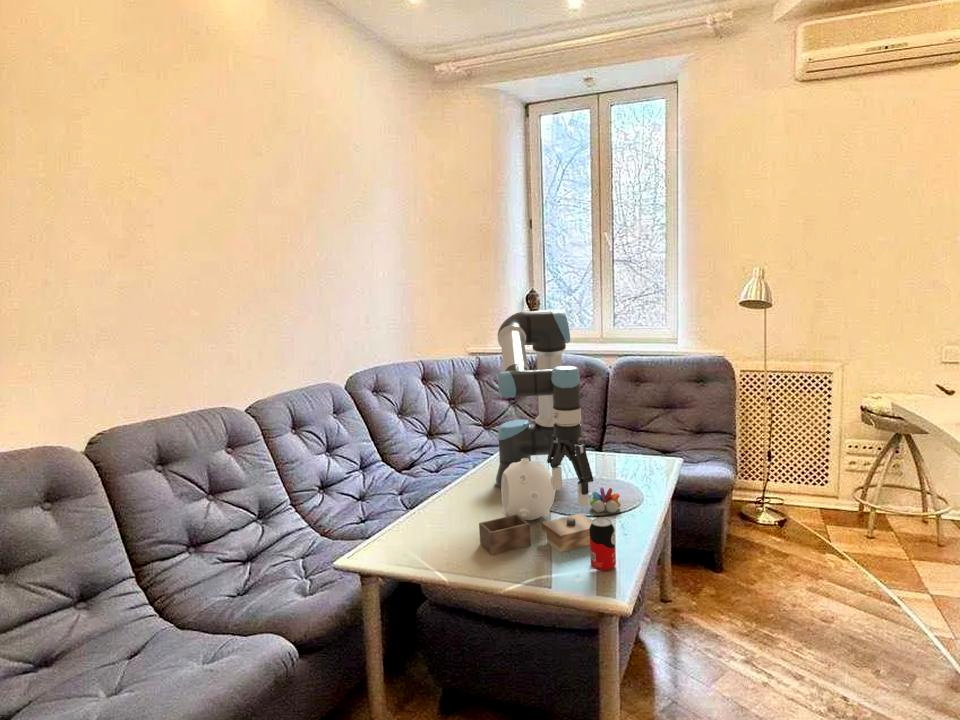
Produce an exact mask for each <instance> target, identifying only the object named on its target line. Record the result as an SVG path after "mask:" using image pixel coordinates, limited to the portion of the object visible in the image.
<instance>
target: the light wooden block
mask: <svg viewBox="0 0 960 720" xmlns="http://www.w3.org/2000/svg"><path fill="white" fill-rule="evenodd" d="M546 540H547V541H546V542H547V544H548V545H549V546H551V547H552V548H553V549H555V550H556V551H558V552H559V553H562V552H566V551H570V550H574V549H577V548H581V547H585V546H589V547H590V536H587V537H583V538H579V539H575V540H571V541H567V542H563V543H561V542H559V541H558V540H556V539H555V538H554V537H552V536H551V535H549V534H548V533H547V532H546Z"/></svg>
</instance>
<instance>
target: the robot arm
mask: <svg viewBox="0 0 960 720" xmlns="http://www.w3.org/2000/svg"><path fill="white" fill-rule="evenodd" d="M497 342H498V345H499V346H500V347H501V355H502V356H501V357H502V368H503V369H502V370H503V371H500V372H498V374H497V384H498V385H497V387H498V395H499V396H500V398H512V399H513V398H519V397H520V398H522V397H538V415H537V416H536V417H535V419H534V423H530V421H529V420H528V419H515V420H510V421H507V422H504V423H501V425H500V426H498V430H497V433H498V434H497V435H498V436H497V440H498V457H499V465H498V469H497V472H496V477H495V486H496V487H497V488H500V489H501V481H502V474H503V472H504V471H505V470H506V469H507V468H508V467H509V465H510V464H511V463H514V462H515V463H517V462H520V461H521V459H523V458H528V459H529V461H532V460H531V459H532V458H531V457H532V456H533V457H534V456H547V459H546V462H547V464H549V465H550V467H551V476H552V482H553V490H556V491H557V490H561V489H563V476H562V470H563V469H562V466H561V465H562V461H563V460H564V457H567V458H568V461H570V462H571V464H572V466H573V468H574V469H573V470H574V472H575V474H576V477H577V479H578V481H577V498H578V499H577V500H578V501H577V502H578V506H579V507H583V506H587V505H589V504H590V502H589V492H590V491H589V483H592V482H594V477H593V474H592V473H593V472H592V469H591V466H590V462H589V458H588V456H587V455H588V454H587V450H586V445H585V444H580V445H579V442H578V441H579V439H580V438H581V437H582V424H581V422H582V409H581V377H580V376H581V375H580V370H579V368H578V367H577V366H573V365H562V364H563V363H562V362H563V359H562V355H563V354H562V353H563V352H565V350H566V348H567V347H566V346H567V345H566V344H570V342H571V334H570V326H569V322H568V317H567V314H566V313H565V312H564V310H561V309H544V310H530V311H519V312H516V313H514V314H511V315H510V316H508V317H507V318H506V319H505V320H504V321H503V322H502V324H501V325H500V326H499V329H498V331H497ZM531 345H532V351H533V352H535V353H536V355H537V356H536V362H537V365H536V366H537V369H529V366H528V359H527V352H526V347H525V346H531ZM520 479H521V478H520Z"/></svg>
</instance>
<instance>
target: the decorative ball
mask: <svg viewBox="0 0 960 720" xmlns="http://www.w3.org/2000/svg"><path fill="white" fill-rule="evenodd" d="M520 478H521V479H520ZM556 491H557V490H553V482H552V473H551V472H550V471H549V470H548V469H547V468H546V467H545V466H543V465H542V464H540V463H537V462H535V461H532V460H531V461H529V459H528V458H523V459H521V461H520V462H517V463H515V462H514V463H511V464H510V465H509V467H508V468H507V469H506V470H505V471H504V472H503V474H502V481H501V488H500V494H501V495H500V496H501V505H502V510H501V513H503V514H504V515H505V517H508V516H512V515H518V516H520V517H521V518H522V519H524V520H525V521H533V520H536V519H539V518H541V517H543V518H544V519H545V518H547V517H548V516H549V515H550V514H551V511H550V510H551V508H552V506H553V504H554V501H555V495H556Z"/></svg>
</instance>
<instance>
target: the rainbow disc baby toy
mask: <svg viewBox="0 0 960 720" xmlns="http://www.w3.org/2000/svg"><path fill="white" fill-rule="evenodd" d="M599 491H600V494H599V492H597V491H593V492H592V499H590V500H589V504H590V506H591V507H592V510H593V511H594V512H595V513H598V514H599V513H600V512H601V513H602V512H604V511H605V510H606V511H607V512H608V513H611V514H614V513H616V512H617V511H618V509H619V508H620V507H621V505H622V504H621V502H620V501H619V498H620V494H619V493H614V494H612V493H613V488H611V487H610V488H608V490H607V491H606V493H605V489H604V487H600V488H599Z"/></svg>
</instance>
